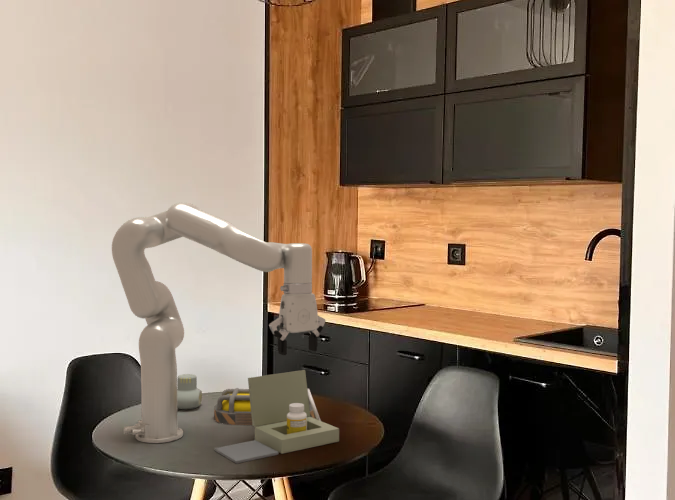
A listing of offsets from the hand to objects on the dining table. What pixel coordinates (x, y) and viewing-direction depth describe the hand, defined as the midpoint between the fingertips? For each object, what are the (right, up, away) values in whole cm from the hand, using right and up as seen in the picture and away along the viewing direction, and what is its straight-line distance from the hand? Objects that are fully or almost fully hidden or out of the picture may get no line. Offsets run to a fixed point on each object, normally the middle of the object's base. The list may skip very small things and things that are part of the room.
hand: (297, 352), depth 199 cm
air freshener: (-37, -22, +33) cm, 54 cm away
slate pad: (-13, -24, -10) cm, 29 cm away
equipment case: (-1, -24, +2) cm, 24 cm away
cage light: (-11, -23, +22) cm, 33 cm away
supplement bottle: (0, -24, 0) cm, 24 cm away
